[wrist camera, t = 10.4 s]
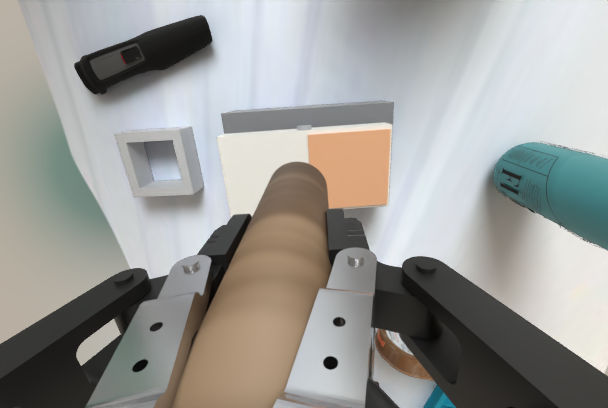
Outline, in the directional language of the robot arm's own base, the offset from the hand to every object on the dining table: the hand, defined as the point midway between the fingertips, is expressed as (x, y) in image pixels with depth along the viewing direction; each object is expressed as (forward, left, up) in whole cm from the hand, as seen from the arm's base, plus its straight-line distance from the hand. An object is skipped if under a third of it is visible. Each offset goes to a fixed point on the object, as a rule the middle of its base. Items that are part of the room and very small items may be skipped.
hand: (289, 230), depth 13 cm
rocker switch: (0, 0, -12) cm, 12 cm away
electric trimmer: (-11, -16, -21) cm, 29 cm away
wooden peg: (0, 0, -5) cm, 5 cm away
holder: (0, -17, -21) cm, 27 cm away
